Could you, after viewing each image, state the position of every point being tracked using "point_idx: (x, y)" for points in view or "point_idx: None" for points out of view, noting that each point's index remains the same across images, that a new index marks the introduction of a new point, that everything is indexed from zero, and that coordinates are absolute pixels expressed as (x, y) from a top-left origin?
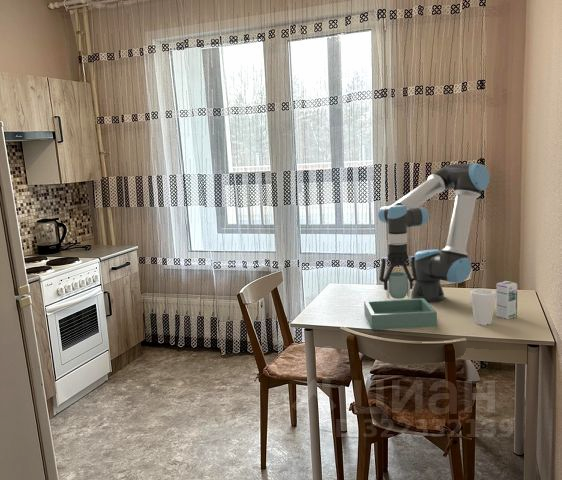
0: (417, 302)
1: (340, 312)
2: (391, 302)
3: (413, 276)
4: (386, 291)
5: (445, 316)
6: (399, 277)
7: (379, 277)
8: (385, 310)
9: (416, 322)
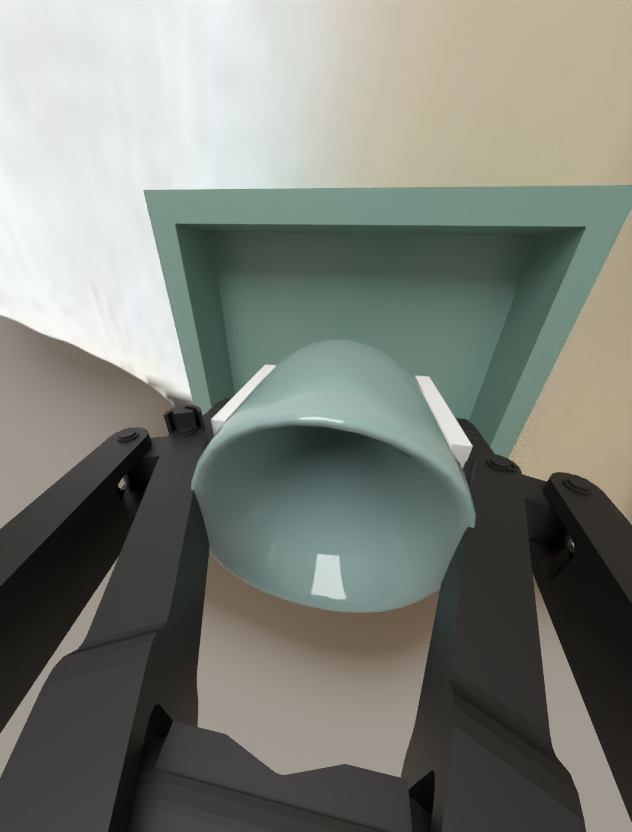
0: (539, 229)
1: (62, 139)
2: (337, 226)
3: (565, 508)
4: (251, 379)
5: (608, 337)
6: (312, 595)
7: (100, 447)
8: (305, 231)
9: None
